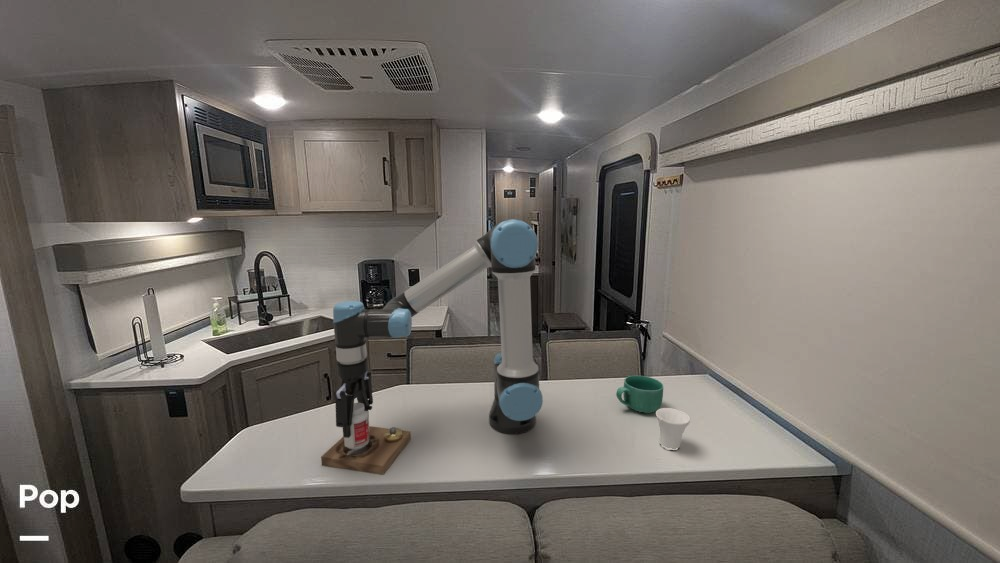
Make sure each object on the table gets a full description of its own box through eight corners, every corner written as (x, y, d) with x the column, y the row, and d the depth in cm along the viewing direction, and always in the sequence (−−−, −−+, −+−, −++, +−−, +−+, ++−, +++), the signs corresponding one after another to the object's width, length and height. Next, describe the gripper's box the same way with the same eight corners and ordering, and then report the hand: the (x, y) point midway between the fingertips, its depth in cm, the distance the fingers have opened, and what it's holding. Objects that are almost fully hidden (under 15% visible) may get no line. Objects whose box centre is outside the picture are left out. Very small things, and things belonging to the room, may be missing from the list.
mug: (647, 398, 135) (649, 373, 134) (669, 415, 123) (671, 388, 122) (606, 402, 132) (607, 377, 130) (624, 420, 120) (626, 393, 118)
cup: (646, 442, 108) (648, 410, 107) (669, 434, 112) (671, 404, 110) (670, 459, 100) (673, 425, 98) (694, 451, 104) (697, 418, 102)
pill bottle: (372, 445, 101) (369, 408, 99) (348, 453, 97) (345, 414, 96) (366, 434, 106) (364, 398, 104) (343, 441, 103) (340, 404, 101)
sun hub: (405, 433, 108) (404, 425, 108) (397, 443, 103) (396, 434, 103) (389, 431, 109) (389, 423, 109) (380, 441, 104) (380, 432, 104)
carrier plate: (410, 439, 110) (410, 431, 109) (383, 474, 94) (382, 465, 94) (356, 432, 113) (356, 424, 113) (321, 465, 98) (321, 456, 97)
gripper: (359, 346, 108) (364, 419, 111) (314, 372, 89) (322, 458, 93) (383, 348, 106) (387, 422, 110) (342, 375, 88) (348, 462, 91)
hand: (357, 438), depth 101 cm, fingers closed on pill bottle, 6 cm apart
